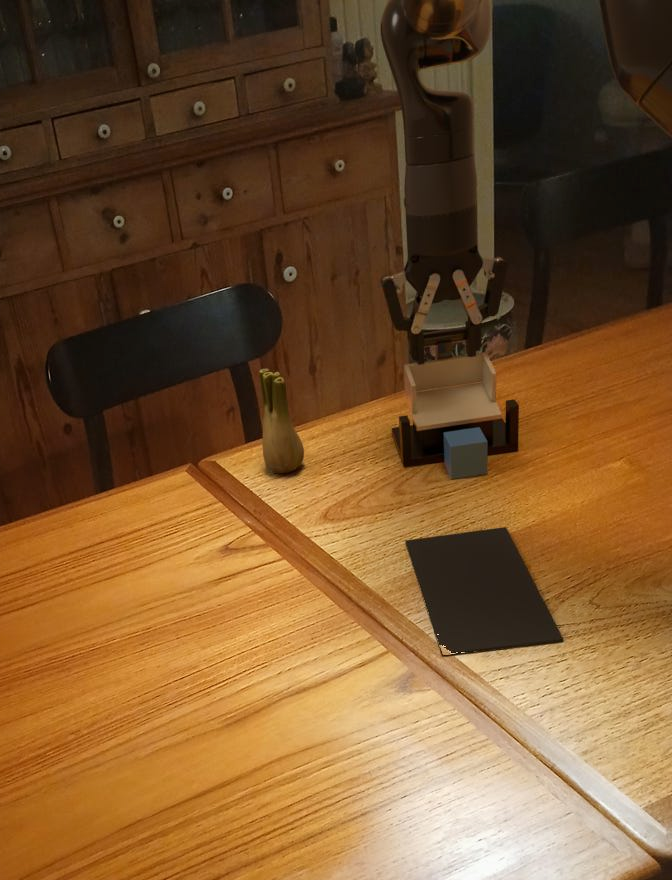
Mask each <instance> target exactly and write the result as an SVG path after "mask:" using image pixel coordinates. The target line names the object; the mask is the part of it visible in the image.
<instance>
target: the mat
mask: <svg viewBox="0 0 672 880" xmlns="http://www.w3.org/2000/svg"><path fill="white" fill-rule="evenodd" d="M404 542H405V546H406V549H407V553H408V552H409V553H408V555H409V559H410V558H411V559H410V562H411V561H412V562H411V565H412V568H413V567H414V568H413V571H414V570H415V571H414V574H415V573H416V574H415V577H416V576H417V577H416V580H417V579H418V580H417V583H418V582H419V583H418V586H419V585H420V586H419V589H420V588H421V590H420V592H421V591H422V593H421V595H422V594H423V596H422V598H423V597H424V599H423V601H424V600H425V602H424V604H425V603H426V605H425V608H426V607H427V608H426V610H427V609H428V611H427V613H428V612H429V614H428V617H429V616H430V617H429V619H431V620H430V623H431V622H432V623H431V626H432V625H433V627H432V629H433V628H434V630H433V632H434V631H435V633H434V635H435V634H436V636H435V638H436V637H437V639H438V642H439V645H442V646H443V645H444V646H446V647H444V648H446V649H447V650H449V651H451V653H456V652H458V653H461V652H465V654H467V653H466V652H473V653H475V652H474V651H481V652H487V651H486V650H490V651H495V650H494V649H498V650H502V649H501V648H506V649H513V648H512V647H514V648H521V647H523V648H524V647H529V646H538V645H546V644H547V643H548V644H555V643H563V642H564V637H563V635H562V633H561V631H560V629H559V627H558V626H557V623H556V621H555V620H554V618H553V616H552V614H551V612H550V610H549V608H548V606H547V604H546V602H545V600H544V598H543V596H542V594H541V593H540V591H539V589H538V586H537V585H536V582H535V581H534V579H533V577H532V574H531V573H530V571H529V569H528V567H527V565H526V563H525V562H524V559H523V557H522V556H521V553H520V552H519V550H518V548H517V545H516V544H515V542H514V540H513V538H512V536H511V534H510V532H509V531H508V528H507V527H506V526H502V527H496V528H488V529H480V530H473V531H464V532H458V533H451V534H449V533H448V534H443V535H435V536H427V537H420V538H413V539H406V540H404ZM437 634H439V635H437ZM437 639H436V640H437ZM562 641H563V642H562ZM438 642H437V643H438ZM548 644H547V645H548ZM439 645H438V646H439ZM483 650H484V651H483Z"/></svg>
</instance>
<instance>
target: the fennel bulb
mask: <svg viewBox="0 0 672 880" xmlns="http://www.w3.org/2000/svg"><path fill="white" fill-rule="evenodd" d="M258 375H259V382H260V389H261V396H262V408H263V422H262V423H263V424H262V456H263V457H262V458H263V460H264V463H265V464H264V465H265V468H266V469H267V470H268V471H269V472H271V473H273V472H274V474H285V473H284V472H287V473H291V472H293V471H295V470H296V469H297V468H298V467H299V466H300V465H301V464H302V463H303V460H304V458H305V448H304V445H303V442H302V439H301V438H300V436H299V434H298V432H297V431H296V429H295V427H294V426H293V423H292V420H291V416H290V411H289V403H288V395H287V386H286V380H285V378H283V377H282V375H281V373H280V372H279V371H276V372H274V373H273V372H272V371H270V369H269V368H261V369H259V371H258ZM290 471H291V472H290Z"/></svg>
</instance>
